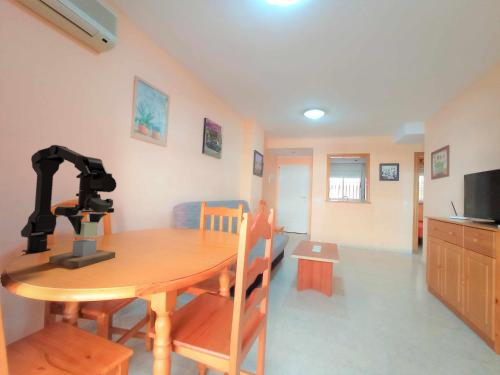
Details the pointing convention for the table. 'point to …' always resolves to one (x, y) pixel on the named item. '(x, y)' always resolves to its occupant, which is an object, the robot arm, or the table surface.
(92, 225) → the sage block
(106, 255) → the walnut base
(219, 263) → the table surface
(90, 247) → the slate block
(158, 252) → the table surface
